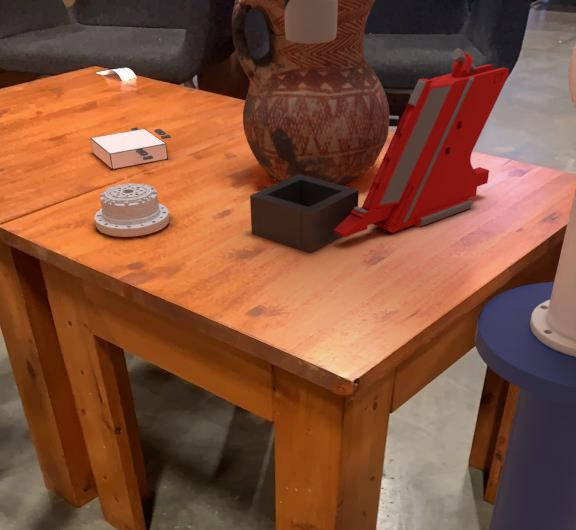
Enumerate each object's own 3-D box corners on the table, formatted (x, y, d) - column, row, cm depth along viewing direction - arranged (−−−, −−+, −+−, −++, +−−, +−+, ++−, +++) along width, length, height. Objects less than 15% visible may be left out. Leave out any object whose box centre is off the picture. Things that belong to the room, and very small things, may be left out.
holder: (357, 228, 102) (359, 189, 99) (310, 253, 96) (310, 213, 93) (299, 210, 107) (299, 173, 103) (251, 233, 101) (249, 195, 98)
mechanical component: (81, 227, 104) (129, 245, 99) (74, 193, 101) (123, 211, 96) (136, 205, 109) (185, 221, 105) (132, 173, 107) (181, 188, 102)
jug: (330, 144, 128) (333, -38, 112) (416, 178, 116) (434, -22, 99) (218, 173, 119) (203, -21, 102) (298, 213, 106) (295, -1, 89)
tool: (358, 244, 95) (444, 19, 84) (328, 229, 97) (408, 10, 87) (458, 269, 112) (540, 87, 102) (430, 256, 115) (507, 77, 105)
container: (82, 144, 131) (79, 127, 129) (145, 133, 135) (143, 117, 133) (123, 180, 118) (121, 161, 116) (192, 166, 122) (190, 148, 120)
